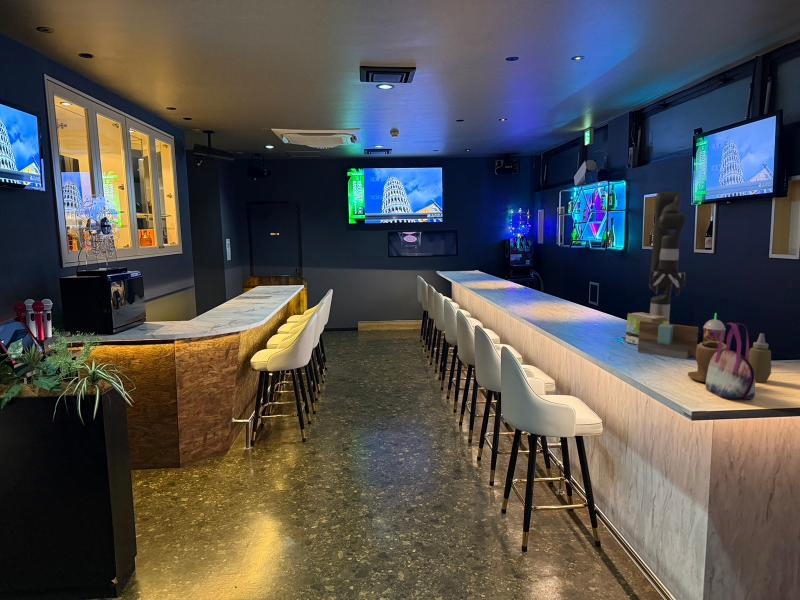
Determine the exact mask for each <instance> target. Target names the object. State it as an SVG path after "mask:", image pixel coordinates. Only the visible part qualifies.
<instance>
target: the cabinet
mask: <svg viewBox="0 0 800 600" xmlns="http://www.w3.org/2000/svg"><path fill="white" fill-rule="evenodd" d="M669 324H671V323H670V321H669V322H665V321H663V324H661V325H659V326H658V339H657V343H663V344H670V345H672V339H673V327H674V326H673V325H674V324H673V325H669Z"/></svg>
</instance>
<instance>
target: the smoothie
mask: <svg viewBox="0 0 800 600" xmlns="http://www.w3.org/2000/svg"><path fill="white" fill-rule="evenodd" d="M724 324H725V323H723V322H722V320H719V319H717V312H715V313H714V317H713V319H710V320H707V321H706V322H705V324H704V325H703V326H702V328H703V330H702V331H703V332H702V333H703V334H702V336H703V337H702V342H707V341H717V342H719V340H720V335H721V332H722V329H723V327H724V329H723V336H722V343H724V340H725V333H726V326H725V325H724Z"/></svg>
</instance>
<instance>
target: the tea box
mask: <svg viewBox="0 0 800 600" xmlns="http://www.w3.org/2000/svg"><path fill="white" fill-rule="evenodd" d="M626 319H627V320H626V329H625V331H626V334H625V342H626V343H631V344H634V345H637V346H638V339H639V326H640V321H646V322H655V323H663V321H665V322H666V320H667V317H663V316H658V315H653V314H650V313H648V312H647V313H646V312H643V311H640V312H639V311H638V312H632V313H631V312H630V313H627V318H626Z"/></svg>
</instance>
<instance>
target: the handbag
mask: <svg viewBox="0 0 800 600" xmlns="http://www.w3.org/2000/svg"><path fill="white" fill-rule="evenodd" d="M727 324H728V325H730V326H731V327H730V330H729V331H728V333H727V337H726V344H725V345H726V350H721V343H722V336H723V329H724V327H725V326H724V327H723V329H722V332H721V335H720V340H719V345H718V351H717V352H716V353H715V354H714V355H713V356H712V358H711V360H710V363H709V367H708V372H707V377H706V382H705V389H706V391H708V392H710V393H712V394H714V395H717V396H718V397H720V398H722V399H727V400H729V399H732V400H733V399H747V400H753V399H754V398H755V396H756V382H755V373H754V370H753V367H752V365H751V364H750V363H749V350H750V342H749V341H750V340H749V333H748V330H747V327H746V326H744V324H743V323H739V322H727V323H726V325H727ZM740 325H742V326H744V327H745V330H746V331H745V332H746V337H745V339H746V346H745V356H744V355H742V354H741V351H742V340H741V334H740V331H739V328H738V327H739V326H740ZM733 335H734V337H735V341H736V351H735V350H731V349H730V348H731V342H732V338H733Z"/></svg>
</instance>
